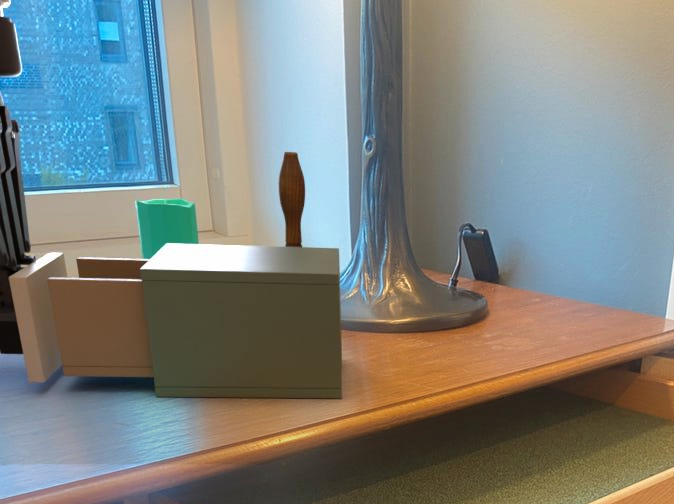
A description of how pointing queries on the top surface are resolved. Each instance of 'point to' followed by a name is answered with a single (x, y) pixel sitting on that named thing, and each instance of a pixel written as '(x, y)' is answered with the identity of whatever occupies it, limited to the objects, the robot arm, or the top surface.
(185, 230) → the candle
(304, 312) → the cabinet
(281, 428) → the top surface
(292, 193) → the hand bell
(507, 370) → the top surface
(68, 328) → the drawer
